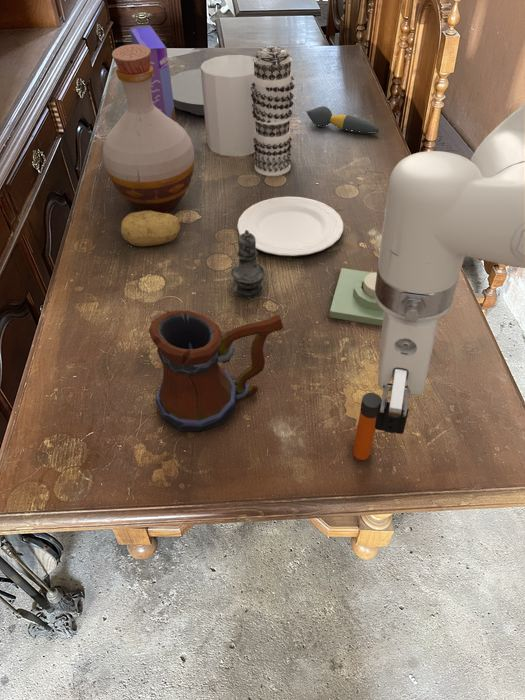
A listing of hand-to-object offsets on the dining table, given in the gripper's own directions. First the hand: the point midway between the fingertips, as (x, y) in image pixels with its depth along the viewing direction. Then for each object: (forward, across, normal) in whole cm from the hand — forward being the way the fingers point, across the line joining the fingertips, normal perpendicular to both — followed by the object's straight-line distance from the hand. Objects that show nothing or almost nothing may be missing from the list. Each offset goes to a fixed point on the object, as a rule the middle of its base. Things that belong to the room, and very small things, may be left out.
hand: (392, 397), depth 65 cm
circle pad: (+8, +29, +4) cm, 31 cm away
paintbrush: (+10, +96, +21) cm, 98 cm away
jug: (+9, +51, +53) cm, 74 cm away
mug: (+10, +2, +24) cm, 25 cm away
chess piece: (+10, +28, +26) cm, 39 cm away
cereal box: (+9, +78, +63) cm, 100 cm away
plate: (+10, +46, +23) cm, 53 cm away
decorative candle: (+10, +72, +33) cm, 79 cm away
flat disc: (+9, +106, +59) cm, 121 cm away
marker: (+10, -2, +3) cm, 11 cm away
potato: (+9, +37, +48) cm, 61 cm away
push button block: (+10, +29, +4) cm, 31 cm away
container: (+9, +82, +45) cm, 94 cm away
